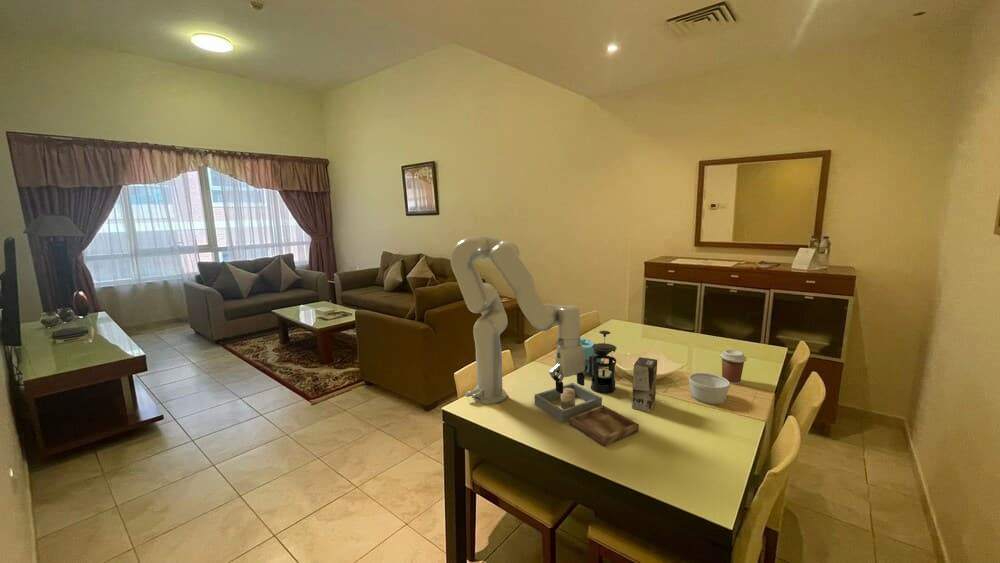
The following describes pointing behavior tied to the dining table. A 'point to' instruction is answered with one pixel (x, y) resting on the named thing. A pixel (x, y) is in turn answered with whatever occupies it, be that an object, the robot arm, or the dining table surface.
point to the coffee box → (644, 384)
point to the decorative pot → (589, 351)
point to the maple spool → (567, 398)
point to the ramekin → (708, 387)
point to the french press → (603, 374)
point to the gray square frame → (564, 415)
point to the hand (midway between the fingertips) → (570, 388)
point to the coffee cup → (732, 365)
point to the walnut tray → (604, 425)
